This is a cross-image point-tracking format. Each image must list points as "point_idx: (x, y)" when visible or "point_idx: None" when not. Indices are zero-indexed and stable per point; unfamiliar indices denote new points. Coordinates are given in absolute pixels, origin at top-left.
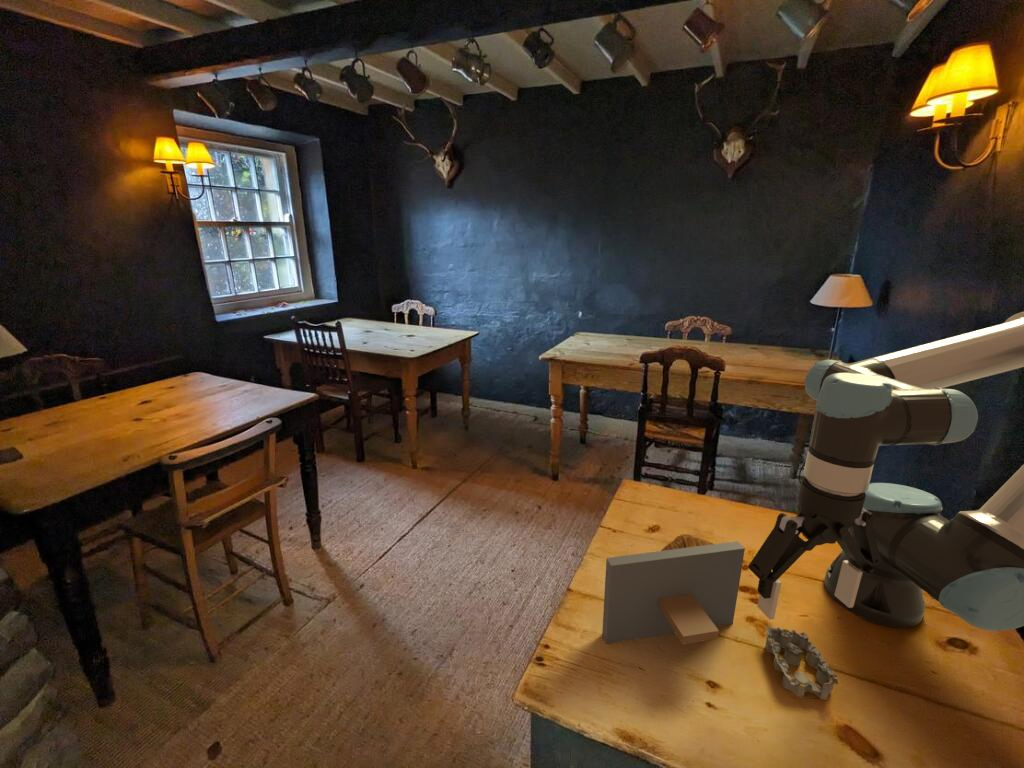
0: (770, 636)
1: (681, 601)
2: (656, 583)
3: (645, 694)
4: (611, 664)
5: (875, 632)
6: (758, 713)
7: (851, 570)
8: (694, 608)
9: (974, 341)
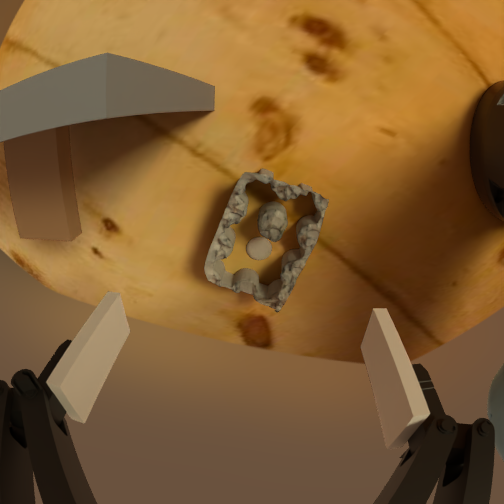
0: (238, 194)
1: (32, 151)
2: None
3: None
4: None
5: (463, 209)
6: (152, 277)
7: (393, 428)
8: (47, 175)
9: None
